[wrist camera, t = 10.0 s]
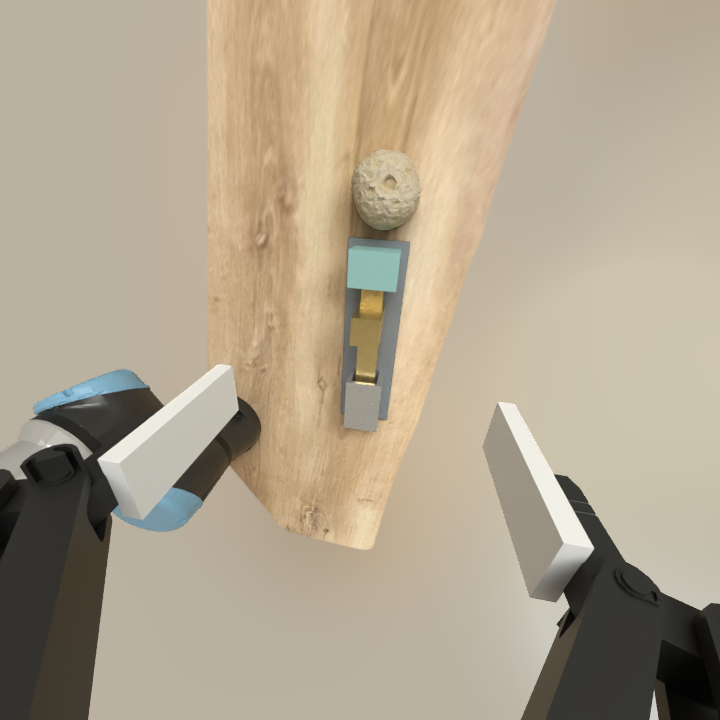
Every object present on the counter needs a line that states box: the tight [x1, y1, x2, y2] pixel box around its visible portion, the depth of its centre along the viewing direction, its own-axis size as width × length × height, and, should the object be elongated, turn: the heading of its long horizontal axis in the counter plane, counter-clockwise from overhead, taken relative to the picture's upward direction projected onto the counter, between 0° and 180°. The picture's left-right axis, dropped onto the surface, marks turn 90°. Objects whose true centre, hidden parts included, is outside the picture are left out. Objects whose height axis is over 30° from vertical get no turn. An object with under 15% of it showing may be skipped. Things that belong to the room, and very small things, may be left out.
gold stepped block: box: [350, 289, 386, 384], centre depth 44 cm, size 4×20×9 cm, turn 176°
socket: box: [347, 245, 401, 292], centre depth 42 cm, size 7×5×6 cm
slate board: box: [341, 237, 410, 420], centre depth 50 cm, size 9×32×1 cm, turn 176°
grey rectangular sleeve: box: [344, 367, 384, 432], centre depth 52 cm, size 6×10×5 cm, turn 176°
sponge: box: [351, 149, 420, 230], centre depth 38 cm, size 9×10×10 cm
